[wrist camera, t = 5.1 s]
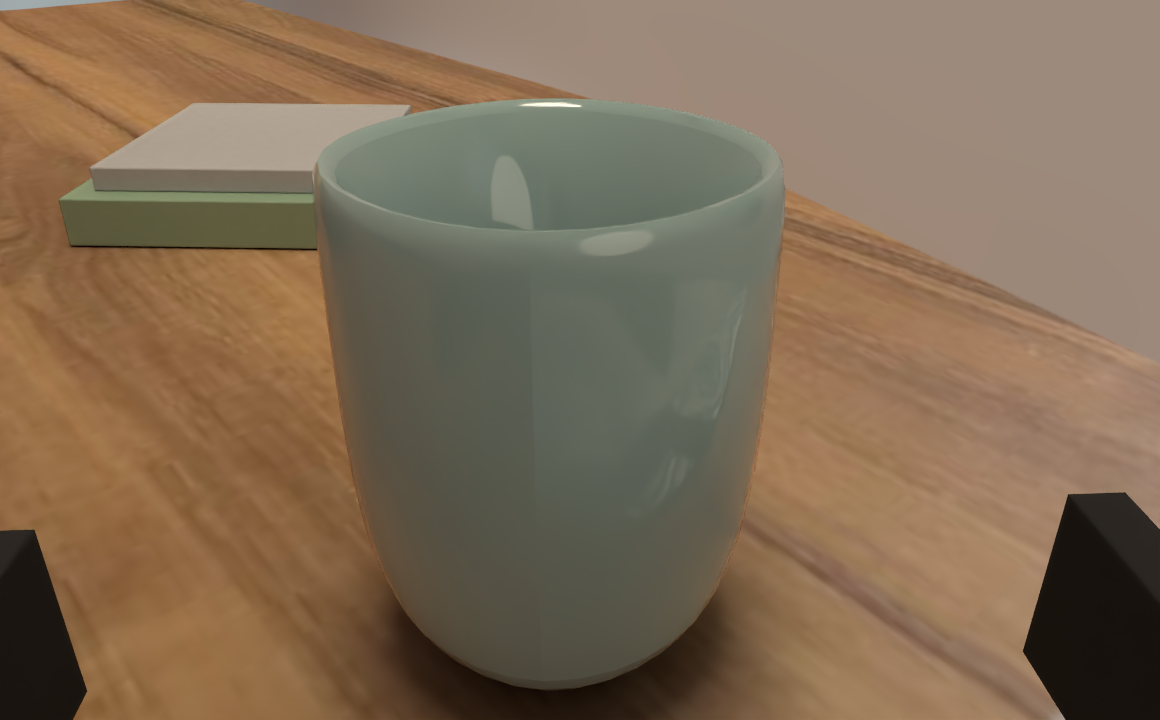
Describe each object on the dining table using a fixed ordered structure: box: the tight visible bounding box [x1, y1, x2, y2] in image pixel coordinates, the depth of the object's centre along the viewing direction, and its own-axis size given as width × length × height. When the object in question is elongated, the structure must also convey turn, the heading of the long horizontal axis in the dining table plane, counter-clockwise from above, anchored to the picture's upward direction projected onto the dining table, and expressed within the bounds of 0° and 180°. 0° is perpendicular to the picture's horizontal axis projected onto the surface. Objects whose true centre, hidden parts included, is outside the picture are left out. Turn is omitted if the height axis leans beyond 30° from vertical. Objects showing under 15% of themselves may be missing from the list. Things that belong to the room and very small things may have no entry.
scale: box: [59, 103, 412, 249], centre depth 45 cm, size 14×13×3 cm
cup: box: [312, 98, 785, 691], centre depth 19 cm, size 8×8×10 cm
